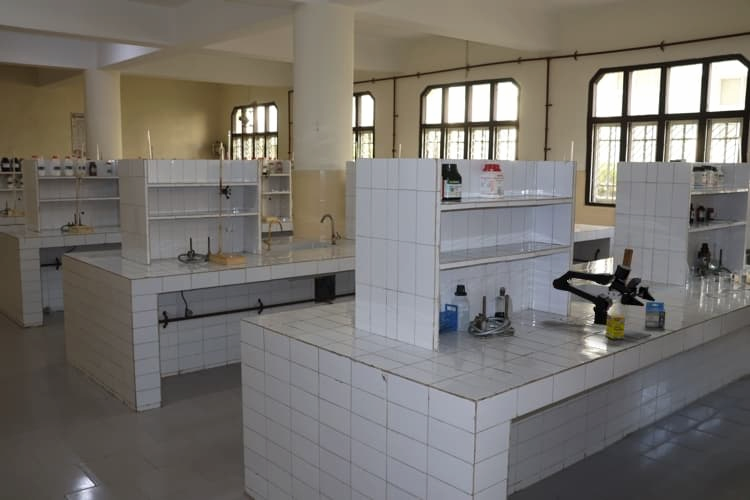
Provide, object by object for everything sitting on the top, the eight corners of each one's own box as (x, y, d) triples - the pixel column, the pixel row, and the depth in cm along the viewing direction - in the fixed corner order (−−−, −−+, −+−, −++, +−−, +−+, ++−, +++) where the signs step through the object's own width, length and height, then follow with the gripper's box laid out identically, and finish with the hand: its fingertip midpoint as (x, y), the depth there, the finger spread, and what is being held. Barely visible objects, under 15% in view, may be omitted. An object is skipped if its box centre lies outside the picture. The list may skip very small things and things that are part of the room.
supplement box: (612, 340, 314) (614, 317, 313) (605, 337, 320) (606, 314, 319) (623, 339, 316) (625, 317, 314) (616, 336, 322) (617, 314, 320)
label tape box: (646, 327, 341) (648, 303, 340) (644, 325, 345) (646, 301, 344) (664, 327, 340) (666, 304, 338) (662, 326, 344) (664, 302, 342)
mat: (638, 339, 317) (638, 338, 317) (615, 334, 326) (615, 333, 326) (650, 335, 325) (650, 334, 325) (627, 330, 334) (627, 329, 333)
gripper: (615, 278, 330) (642, 293, 319) (638, 269, 340) (665, 284, 330) (609, 297, 335) (636, 313, 324) (631, 288, 346) (658, 303, 335)
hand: (649, 303), depth 328 cm, fingers open, 9 cm apart
